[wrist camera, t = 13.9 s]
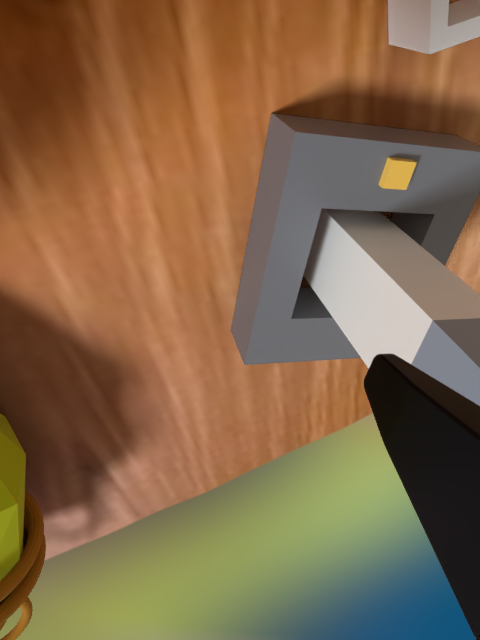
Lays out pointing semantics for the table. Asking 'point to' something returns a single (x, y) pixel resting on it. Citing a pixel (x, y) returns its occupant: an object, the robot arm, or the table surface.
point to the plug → (396, 297)
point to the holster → (432, 23)
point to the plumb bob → (17, 533)
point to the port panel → (339, 193)
